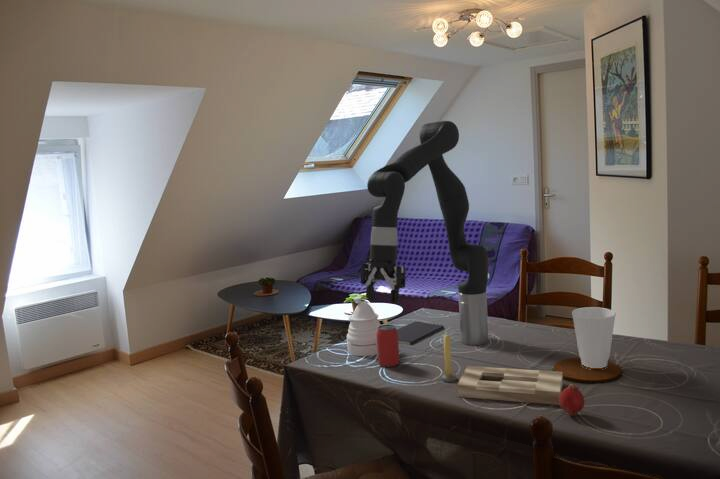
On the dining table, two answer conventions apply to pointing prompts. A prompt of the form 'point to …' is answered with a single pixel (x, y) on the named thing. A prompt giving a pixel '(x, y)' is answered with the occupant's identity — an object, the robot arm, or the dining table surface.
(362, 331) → the honey pot
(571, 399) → the onion
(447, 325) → the dining table surface
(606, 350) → the cup
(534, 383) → the keyhole board
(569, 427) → the dining table surface
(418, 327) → the notebook
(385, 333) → the beer can
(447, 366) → the headed peg
